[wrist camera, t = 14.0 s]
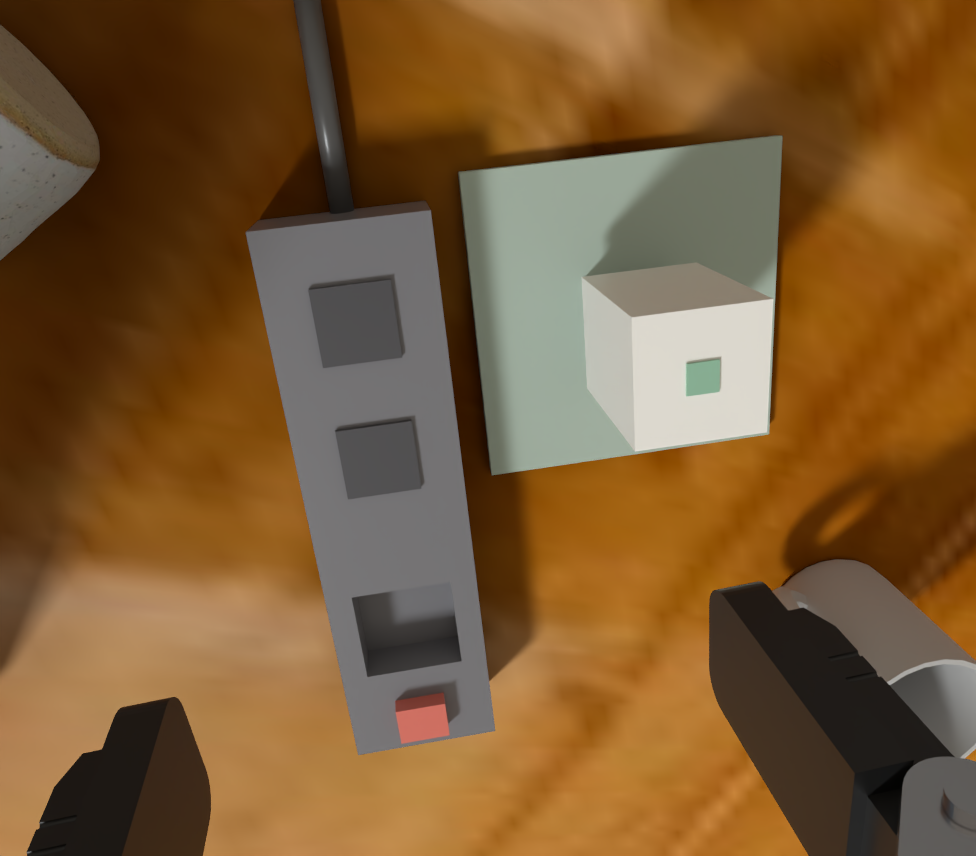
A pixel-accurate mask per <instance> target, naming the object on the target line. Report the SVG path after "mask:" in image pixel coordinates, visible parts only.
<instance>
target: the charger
mask: <svg viewBox="0 0 976 856" xmlns="http://www.w3.org/2000/svg"><path fill="white" fill-rule="evenodd" d="M581 278H582V298H583V318H584V338H585V358H586V377H587V389H588V390H589V392H590V393H591V394H592V396H593V397H594V398H595V400H596V401H597V402H598V404H599V405H600V406H601V407H602V409H603V410H604V411H605V413H606V414H607V415H608V417H609V418H610V419H611V421H612V422H613V423H614V425H615V426H616V427H617V429H618V430H619V431H620V433H621V434H622V435H623V436H624V438H625V439H626V440H627V442H628V443H629V444H630V446H631V447H632V448H633V450H634V451H635V452H636V451H643V450H650V449H657V448H664V447H671V446H677V445H684V444H691V443H698V442H705V441H712V440H719V439H725V438H732V437H739V436H746V435H753V434H760V433H766V432H767V424H768V403H769V381H770V360H771V338H772V316H773V298H770V297H768V296H766V295H764V294H762V293H760V292H758V291H756V290H754V289H751V288H749V287H747V286H745V285H743V284H741V283H739V282H737V281H735V280H732V279H730V278H728V277H726V276H724V275H722V274H720V273H718V272H716V271H713V270H711V269H709V268H707V267H705V266H703V265H701V264H699V263H697V262H695V263H687V264H679V265H672V266H664V267H656V268H648V269H640V270H632V271H624V272H616V273H608V274H600V275H592V276H584V277H581Z"/></svg>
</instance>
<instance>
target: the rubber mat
mask: <svg viewBox="0 0 976 856" xmlns="http://www.w3.org/2000/svg"><path fill="white" fill-rule="evenodd" d="M782 137H783V136H779V135H775V136H766V137H757V138H748V139H740V140H731V141H722V142H714V143H705V144H696V145H687V146H679V147H670V148H661V149H653V150H644V151H635V152H627V153H618V154H609V155H600V156H592V157H583V158H574V159H566V160H557V161H548V162H539V163H531V164H522V165H513V166H505V167H496V168H487V169H479V170H470V171H461V172H458V178H459V187H460V196H461V206H462V215H463V224H464V233H465V242H466V252H467V261H468V270H469V279H470V289H471V298H472V307H473V316H474V325H475V335H476V344H477V353H478V362H479V371H480V381H481V390H482V399H483V408H484V417H485V427H486V436H487V445H488V454H489V464H490V471H491V474H492V475H498V474H505V473H511V472H518V471H525V470H532V469H538V468H545V467H552V466H559V465H565V464H572V463H579V462H585V461H592V460H599V459H606V458H612V457H619V456H626V455H633V454H639V453H646V452H653V451H660V450H666V449H673V448H680V447H687V446H693V445H700V444H707V443H714V442H720V441H727V440H734V439H740V438H747V437H754V436H761V435H767V434H769V425H770V402H771V380H772V358H773V336H774V314H775V292H776V269H777V247H778V225H779V203H780V181H781V159H782ZM695 262H697V263H699V264H701V265H703V266H705V267H707V268H709V269H711V270H713V271H716V272H718V273H720V274H722V275H724V276H726V277H728V278H730V279H732V280H735V281H737V282H739V283H741V284H743V285H745V286H747V287H749V288H751V289H754V290H756V291H758V292H760V293H762V294H764V295H766V296H768V297H770V298H773V316H772V338H771V360H770V381H769V403H768V424H767V432H766V433H760V434H753V435H746V436H739V437H732V438H725V439H719V440H712V441H705V442H698V443H691V444H684V445H677V446H671V447H664V448H657V449H650V450H643V451H636V452H635V451H634V450H633V448H632V447H631V446H630V444H629V443H628V442H627V440H626V439H625V438H624V436H623V435H622V434H621V433H620V431H619V430H618V429H617V427H616V426H615V425H614V423H613V422H612V421H611V419H610V418H609V417H608V415H607V414H606V413H605V411H604V410H603V409H602V407H601V406H600V405H599V404H598V402H597V401H596V400H595V398H594V397H593V396H592V394H591V393H590V392H589V390H588V389H587V377H586V358H585V338H584V318H583V298H582V278H581V277H584V276H592V275H600V274H608V273H616V272H624V271H632V270H640V269H648V268H656V267H664V266H672V265H679V264H687V263H695Z"/></svg>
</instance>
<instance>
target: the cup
mask: <svg viewBox="0 0 976 856" xmlns="http://www.w3.org/2000/svg"><path fill="white" fill-rule="evenodd" d="M772 592H773V593H774V594H775V596H776V597H777V598H778V599H779V600H780V601H781V603H782V604H783V605H784V606H785V607H786V609H787V610H788V611H789V610H794V609H798V608H803V607H804V608H805V609H807V610H809V611H811V612H812V613H814V614H816V615H817V616H819V617H821V618H823V619H824V620H826V621H828V622H830V623H831V624H833V625H835V626H836V627H837V628H838V629H839V630H840V631H841V632H842V634H843V635H844V636H845V637H846V638H847V639H848V640H849V641H850V642H851V643H852V645H853V646H854V647H855V648H856V649H857V650H858V654H859V655H860V656H863V657H864V658H865V659H866V660H867V661H868V662H869V663H870V664H871V666H872V667H873V668H874V669H875V670H876V671H877V675H878V677H882V678H883V679H884V680H885V681H886V682H887V683H888V684H889V685H890V686H891V688H892V689H893V690H894V691H895V692H896V693H897V694H898V695H899V696H900V697H901V699H902V700H903V701H904V702H905V703H906V704H907V705H908V706H909V707H910V708H911V710H912V711H913V712H914V713H915V714H916V715H917V716H918V717H919V718H920V719H921V721H922V722H923V723H924V724H925V725H926V726H927V727H928V728H929V729H930V731H931V732H932V733H933V734H934V735H935V736H936V737H937V738H938V739H939V740H940V742H941V743H942V744H943V745H944V746H945V747H946V748H947V749H948V750H949V751H950V753H951V754H952V755H953V756H954V757H958V758H963V759H965V758H966V757H967V756H968V755H969V754H970V753H971V752H973V751H974V750H975V749H976V661H975V660H974V659H973V658H972V657H971V656H970V655H968V654H967V653H966V652H965V651H964V650H963V649H962V648H961V647H960V646H959V645H958V644H957V643H955V642H954V641H953V640H952V639H951V638H950V637H949V636H948V635H947V634H946V633H945V632H943V631H942V630H941V629H940V628H939V627H938V626H937V625H936V624H935V623H934V622H933V621H932V620H930V619H929V618H928V617H927V616H926V615H925V614H924V613H923V612H922V611H921V610H920V609H918V608H917V607H916V606H915V605H914V604H913V603H912V602H911V601H910V600H909V599H908V598H907V597H905V596H904V595H903V594H902V593H901V592H900V591H899V590H898V589H897V588H896V587H895V586H893V585H892V584H891V583H890V582H889V581H888V580H887V579H886V578H884V577H883V576H882V575H881V574H879V573H878V572H877V571H875V570H874V569H873V568H872V567H870V566H869V565H867V564H864V563H861V562H858V561H856V560H842V559H834V560H828V561H823V562H819V563H816V564H814V565H811V566H809V567H807V568H805V569H803V570H802V571H800V572H799V573H797V574H796V575H794V576H793V577H792V578H791V579H790V580H789V581H788V582H787V583H786V584H785V585H784V586H783V587H782V586H781V587H779V588H777V589H775V590H773V591H772Z"/></svg>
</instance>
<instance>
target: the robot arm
mask: <svg viewBox="0 0 976 856" xmlns="http://www.w3.org/2000/svg"><path fill="white" fill-rule="evenodd" d="M709 670H710V677H711V683H712V687H713V690H714V693H715V696H716V699H717V702H718V704H719V706H720V708H721V710H722V712H723V713H724V715H725V717H726V718H727V720H728V722H729V723H730V725H731V727H732V728H733V730H734V732H735V733H736V735H737V737H738V738H739V740H740V742H741V743H742V745H743V747H744V748H745V750H746V752H747V753H748V755H749V757H750V758H751V760H752V762H753V763H754V765H755V767H756V768H757V770H758V772H759V773H760V775H761V777H762V778H763V780H764V782H765V783H766V785H767V787H768V788H769V790H770V792H771V793H772V795H773V797H774V798H775V800H776V802H777V803H778V805H779V807H780V808H781V810H782V812H783V813H784V815H785V817H786V818H787V820H788V822H789V823H790V825H791V827H792V828H793V830H794V832H795V833H796V835H797V837H798V838H799V840H800V842H801V843H802V845H803V847H804V848H805V850H806V852H807V853H808V855H809V856H976V762H975V761H972V760H968V759H963V758H958V757H954V756H953V755H952V754H951V753H950V751H949V750H948V749H947V748H946V747H945V746H944V745H943V744H942V743H941V742H940V740H939V739H938V738H937V737H936V736H935V735H934V734H933V733H932V732H931V731H930V729H929V728H928V727H927V726H926V725H925V724H924V723H923V722H922V721H921V719H920V718H919V717H918V716H917V715H916V714H915V713H914V712H913V711H912V710H911V708H910V707H909V706H908V705H907V704H906V703H905V702H904V701H903V700H902V699H901V697H900V696H899V695H898V694H897V693H896V692H895V691H894V690H893V689H892V688H891V686H890V685H889V684H888V683H887V682H886V681H885V680H884V679H883V678H882V677H878V675H877V671H876V670H875V669H874V668H873V667H872V666H871V664H870V663H869V662H868V661H867V660H866V659H865V658H864V657H863V656H860V655H859V654H858V650H857V649H856V648H855V647H854V646H853V645H852V643H851V642H850V641H849V640H848V639H847V638H846V637H845V636H844V635H843V634H842V632H841V631H840V630H839V629H838V628H837V627H836V626H835V625H833V624H831V623H830V622H828V621H826V620H824V619H823V618H821V617H819V616H817V615H816V614H814V613H812V612H811V611H809V610H807V609H805V608H804V607H803V608H798V609H794V610H789V611H788V610H787V609H786V607H785V606H784V605H783V604H782V603H781V601H780V600H779V599H778V598H777V597H776V596H775V594H774V593H773V592H772V591H771V590H770V588H769V587H768V586H767V585H766V584H764V583H763V582H753V583H748V584H743V585H738V586H733V587H728V588H723V589H718V590H714V591H713V592H712V593H711V596H710V603H709ZM210 812H211V794H210V785H209V779H208V775H207V772H206V769H205V766H204V763H203V760H202V758H201V755H200V752H199V749H198V747H197V744H196V741H195V738H194V736H193V733H192V730H191V727H190V725H189V722H188V719H187V716H186V714H185V711H184V708H183V706H182V704H181V702H180V701H179V699H178V698H176V697H171V698H166V699H161V700H156V701H151V702H146V703H141V704H136V705H131V706H126V707H122V708H120V709H119V710H118V711H117V713H116V715H115V717H114V719H113V722H112V724H111V727H110V730H109V732H108V735H107V738H106V740H105V743H104V746H103V748H102V750H98V751H93V752H88V753H83V754H82V755H81V756H80V757H79V759H78V760H77V761H76V762H75V763H74V765H73V766H72V767H71V768H70V769H69V770H68V772H67V773H66V774H65V775H64V776H63V778H62V779H61V780H60V781H59V782H58V783H57V785H56V786H55V787H54V789H53V792H52V794H51V796H50V799H49V801H48V803H47V806H46V808H45V810H44V813H43V815H42V817H41V820H40V822H39V823H40V828H39V829H38V830H36V831H35V834H34V836H33V839H32V841H31V843H30V846H29V848H28V850H27V856H203V851H204V846H205V841H206V836H207V831H208V826H209V820H210Z"/></svg>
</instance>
